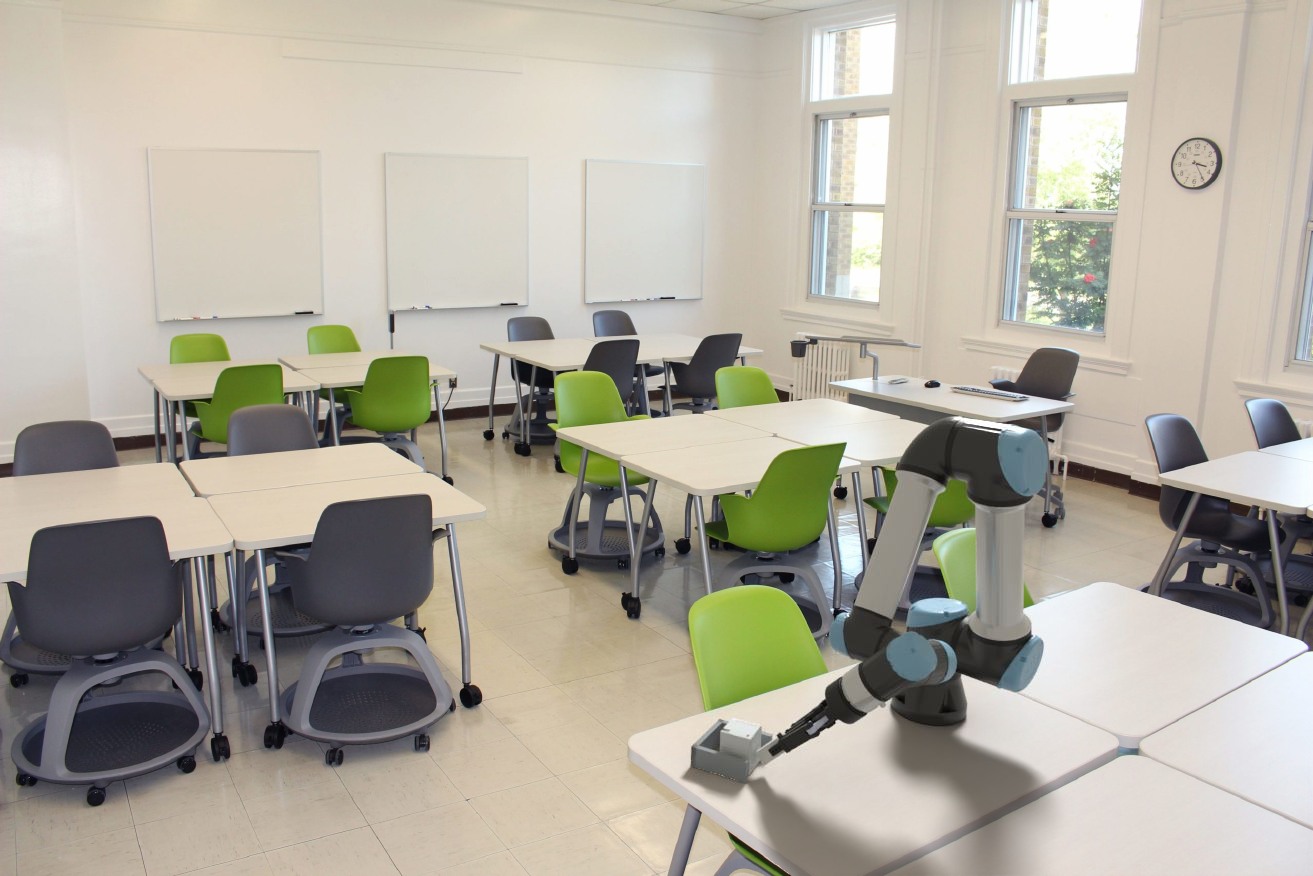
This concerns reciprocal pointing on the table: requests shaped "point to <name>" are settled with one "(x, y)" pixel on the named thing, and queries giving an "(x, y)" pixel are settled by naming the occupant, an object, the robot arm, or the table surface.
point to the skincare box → (741, 741)
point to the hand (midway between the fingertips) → (761, 757)
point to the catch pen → (720, 754)
